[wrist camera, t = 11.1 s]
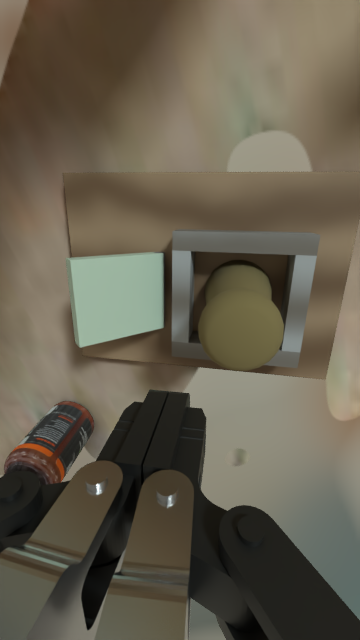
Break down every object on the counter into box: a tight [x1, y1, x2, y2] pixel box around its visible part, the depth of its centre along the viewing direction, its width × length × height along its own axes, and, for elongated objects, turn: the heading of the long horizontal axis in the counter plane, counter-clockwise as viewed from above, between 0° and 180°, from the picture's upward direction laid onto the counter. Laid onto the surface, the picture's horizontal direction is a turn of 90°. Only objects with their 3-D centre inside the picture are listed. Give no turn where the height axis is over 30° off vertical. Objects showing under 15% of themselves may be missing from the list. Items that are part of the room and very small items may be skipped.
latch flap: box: [66, 252, 165, 348], centre depth 25 cm, size 7×8×1 cm
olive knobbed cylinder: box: [198, 260, 284, 371], centre depth 22 cm, size 6×6×11 cm
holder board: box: [63, 172, 360, 379], centre depth 27 cm, size 18×25×4 cm
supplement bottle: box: [3, 401, 94, 485], centre depth 32 cm, size 6×6×11 cm
